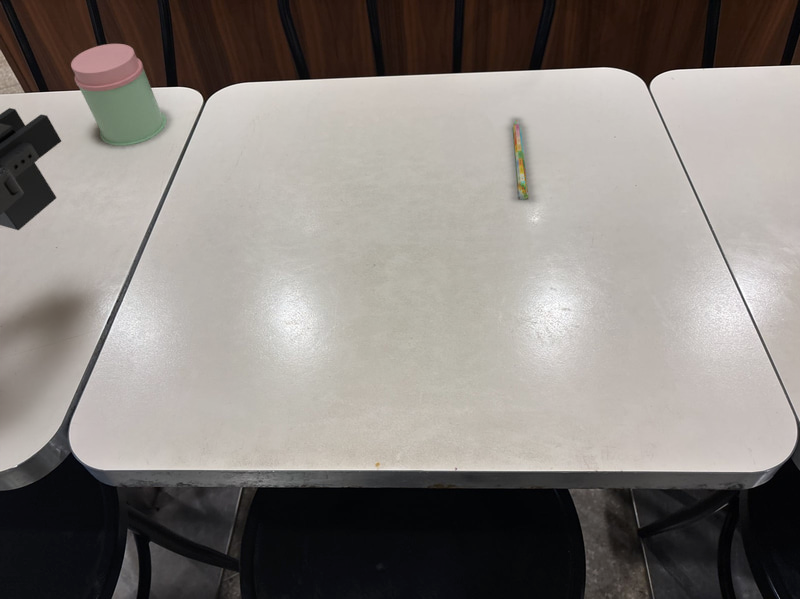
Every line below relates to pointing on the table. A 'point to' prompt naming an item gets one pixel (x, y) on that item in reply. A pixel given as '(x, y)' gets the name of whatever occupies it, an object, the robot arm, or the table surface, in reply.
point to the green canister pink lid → (118, 94)
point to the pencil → (520, 162)
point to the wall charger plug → (26, 192)
